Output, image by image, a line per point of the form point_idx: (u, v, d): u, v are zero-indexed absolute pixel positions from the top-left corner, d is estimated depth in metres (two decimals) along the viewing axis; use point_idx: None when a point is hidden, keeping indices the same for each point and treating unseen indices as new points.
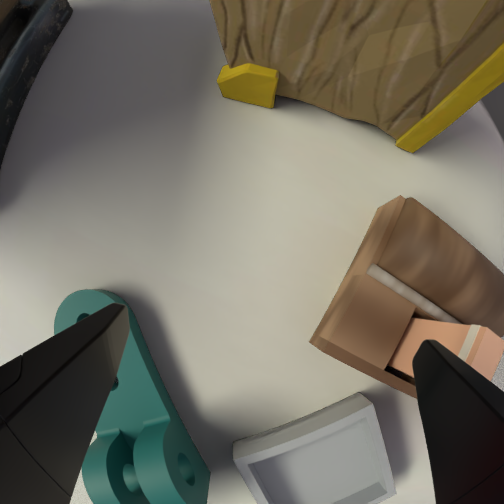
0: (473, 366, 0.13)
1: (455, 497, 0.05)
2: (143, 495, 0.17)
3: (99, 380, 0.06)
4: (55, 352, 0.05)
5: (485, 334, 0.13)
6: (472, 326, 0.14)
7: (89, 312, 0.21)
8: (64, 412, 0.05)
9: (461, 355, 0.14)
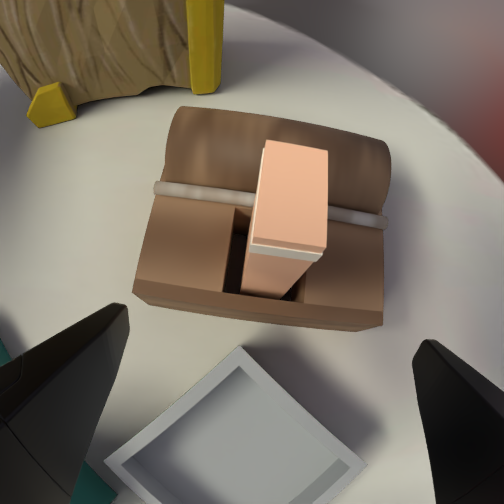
0: (266, 189, 0.11)
1: (455, 497, 0.05)
2: None
3: (99, 380, 0.06)
4: (55, 352, 0.05)
5: (267, 147, 0.11)
6: (261, 159, 0.12)
7: None
8: (64, 412, 0.05)
9: (256, 194, 0.12)
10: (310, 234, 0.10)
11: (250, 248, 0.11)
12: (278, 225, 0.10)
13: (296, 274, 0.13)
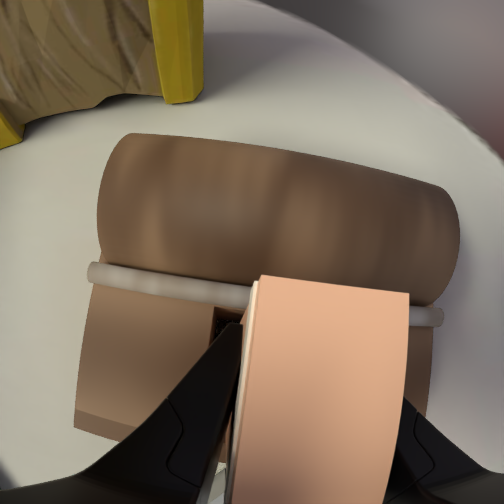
0: (258, 432, 0.04)
1: None
2: None
3: (231, 407, 0.07)
4: (207, 389, 0.05)
5: (264, 302, 0.04)
6: (250, 295, 0.06)
7: None
8: (218, 450, 0.05)
9: (238, 396, 0.05)
10: None
11: None
12: None
13: None
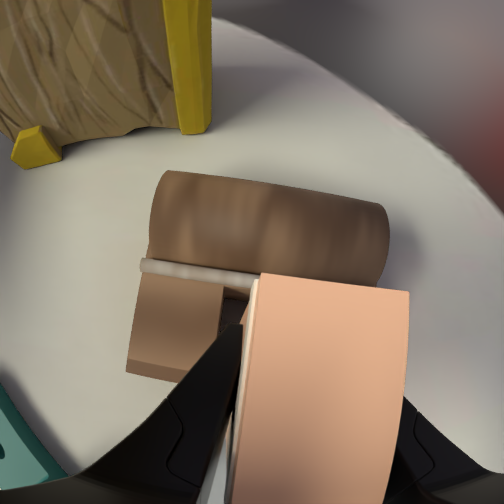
0: (258, 430, 0.04)
1: None
2: None
3: (231, 407, 0.07)
4: (207, 388, 0.05)
5: (264, 300, 0.04)
6: (250, 293, 0.06)
7: None
8: (218, 450, 0.05)
9: (238, 394, 0.05)
10: None
11: None
12: None
13: None
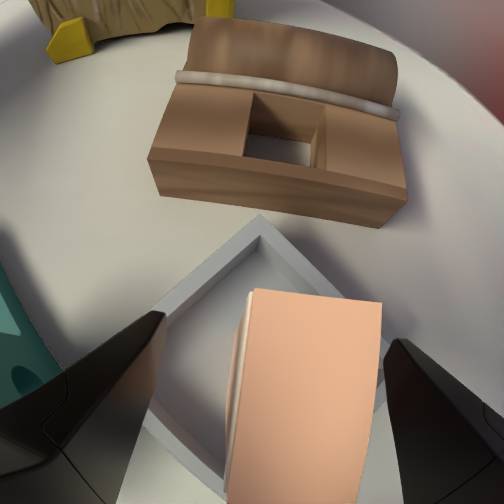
0: (252, 417, 0.05)
1: None
2: None
3: (142, 391, 0.07)
4: (102, 366, 0.05)
5: (257, 310, 0.05)
6: (246, 303, 0.07)
7: None
8: (113, 428, 0.05)
9: (236, 388, 0.06)
10: (331, 489, 0.04)
11: None
12: (273, 484, 0.04)
13: None
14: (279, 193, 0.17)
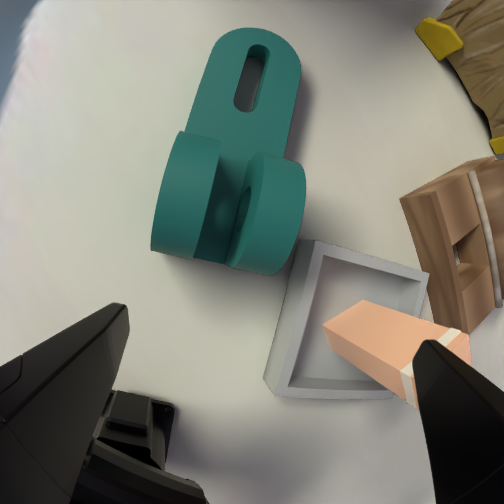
0: None
1: (455, 497, 0.05)
2: None
3: (99, 380, 0.06)
4: (55, 352, 0.05)
5: (464, 340, 0.13)
6: (451, 329, 0.14)
7: (269, 48, 0.20)
8: (64, 412, 0.05)
9: None
10: None
11: (404, 374, 0.13)
12: None
13: (386, 385, 0.16)
14: (438, 272, 0.24)
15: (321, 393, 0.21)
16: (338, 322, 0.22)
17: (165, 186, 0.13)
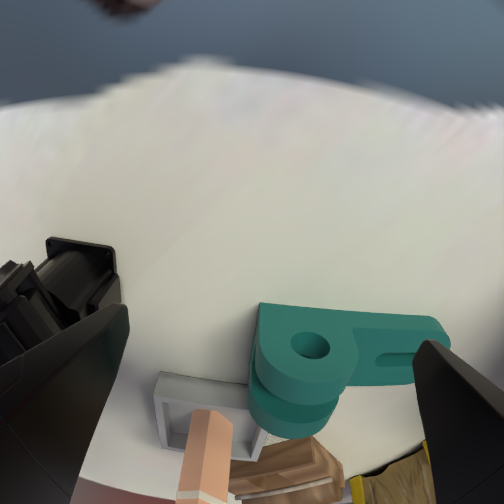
0: None
1: (455, 497, 0.05)
2: None
3: (99, 380, 0.06)
4: (55, 352, 0.05)
5: None
6: None
7: None
8: (64, 412, 0.05)
9: (214, 500, 0.20)
10: None
11: (198, 494, 0.19)
12: None
13: (183, 472, 0.22)
14: (257, 462, 0.32)
15: (160, 417, 0.26)
16: (215, 418, 0.28)
17: (312, 384, 0.17)
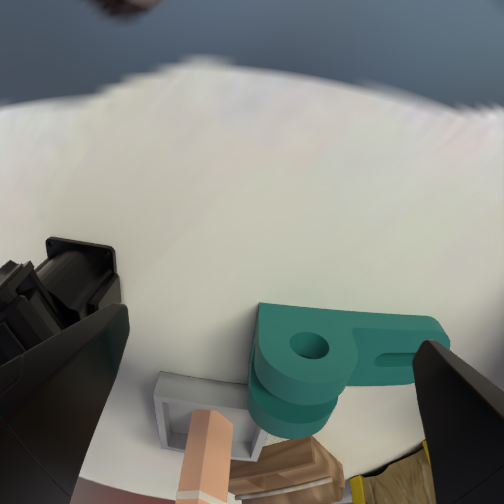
0: None
1: (455, 497, 0.05)
2: None
3: (99, 380, 0.06)
4: (55, 352, 0.05)
5: None
6: None
7: None
8: (64, 412, 0.05)
9: (214, 500, 0.20)
10: None
11: (198, 494, 0.19)
12: None
13: (183, 472, 0.22)
14: (257, 462, 0.32)
15: (160, 417, 0.26)
16: (215, 418, 0.28)
17: (311, 384, 0.17)
